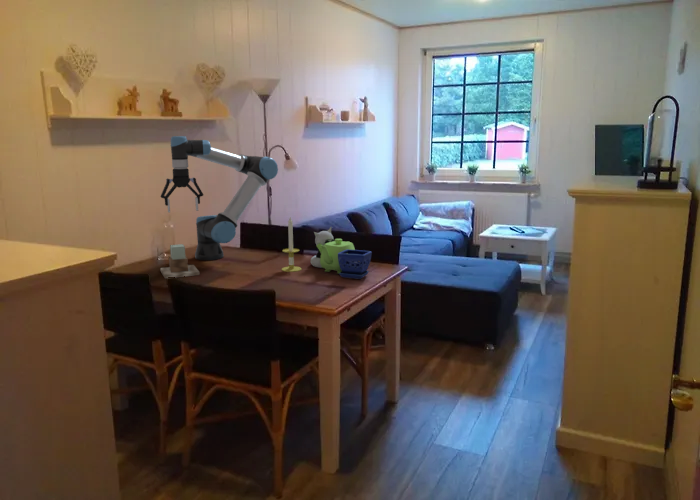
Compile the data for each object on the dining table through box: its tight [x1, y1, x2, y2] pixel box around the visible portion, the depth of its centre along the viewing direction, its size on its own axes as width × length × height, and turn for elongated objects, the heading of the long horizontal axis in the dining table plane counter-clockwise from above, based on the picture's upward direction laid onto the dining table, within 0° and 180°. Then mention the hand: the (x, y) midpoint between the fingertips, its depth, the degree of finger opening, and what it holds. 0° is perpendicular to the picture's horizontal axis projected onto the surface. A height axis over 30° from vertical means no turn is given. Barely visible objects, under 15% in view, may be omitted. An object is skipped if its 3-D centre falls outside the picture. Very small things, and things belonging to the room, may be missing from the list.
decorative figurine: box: [310, 226, 335, 269], centre depth 283 cm, size 15×15×20 cm
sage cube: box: [169, 243, 186, 260], centre depth 269 cm, size 6×6×6 cm
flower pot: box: [338, 249, 373, 280], centre depth 262 cm, size 13×13×12 cm
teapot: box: [316, 238, 356, 275], centre depth 274 cm, size 25×22×16 cm
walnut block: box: [168, 255, 189, 273], centre depth 270 cm, size 8×8×6 cm
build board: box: [160, 264, 200, 280], centre depth 271 cm, size 16×16×2 cm
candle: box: [281, 216, 302, 273], centre depth 275 cm, size 10×10×27 cm
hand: (183, 211), depth 276 cm, fingers open, 13 cm apart
